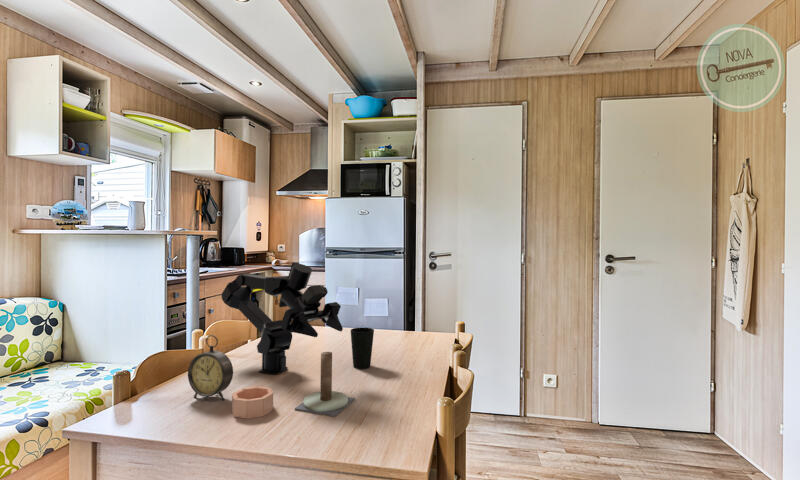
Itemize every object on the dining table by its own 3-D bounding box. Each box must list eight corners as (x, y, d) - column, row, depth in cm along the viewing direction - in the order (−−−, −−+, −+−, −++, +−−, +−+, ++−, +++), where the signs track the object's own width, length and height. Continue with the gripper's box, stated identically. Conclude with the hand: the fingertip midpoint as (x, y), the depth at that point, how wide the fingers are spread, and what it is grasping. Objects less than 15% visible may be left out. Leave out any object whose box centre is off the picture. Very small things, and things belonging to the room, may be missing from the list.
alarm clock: (186, 398, 107) (187, 335, 107) (201, 391, 112) (202, 331, 112) (222, 403, 104) (223, 339, 104) (236, 396, 109) (237, 334, 109)
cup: (369, 370, 132) (370, 333, 132) (346, 369, 133) (347, 331, 133) (376, 363, 139) (376, 328, 139) (354, 362, 141) (354, 326, 141)
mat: (294, 409, 101) (294, 408, 101) (317, 394, 111) (317, 392, 111) (335, 416, 98) (335, 414, 98) (354, 399, 108) (354, 397, 108)
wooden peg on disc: (294, 408, 101) (295, 356, 101) (317, 392, 111) (318, 345, 111) (335, 414, 98) (336, 361, 98) (354, 398, 108) (355, 349, 108)
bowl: (224, 414, 98) (224, 397, 98) (249, 400, 106) (249, 385, 106) (256, 420, 95) (256, 402, 95) (279, 405, 103) (279, 389, 103)
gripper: (279, 281, 114) (312, 312, 105) (329, 276, 128) (362, 304, 120) (267, 315, 117) (299, 348, 108) (318, 307, 132) (350, 336, 123)
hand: (329, 332), depth 115 cm, fingers open, 9 cm apart
